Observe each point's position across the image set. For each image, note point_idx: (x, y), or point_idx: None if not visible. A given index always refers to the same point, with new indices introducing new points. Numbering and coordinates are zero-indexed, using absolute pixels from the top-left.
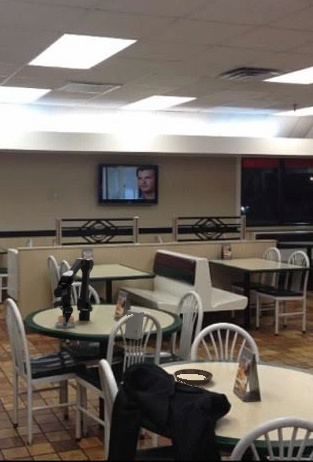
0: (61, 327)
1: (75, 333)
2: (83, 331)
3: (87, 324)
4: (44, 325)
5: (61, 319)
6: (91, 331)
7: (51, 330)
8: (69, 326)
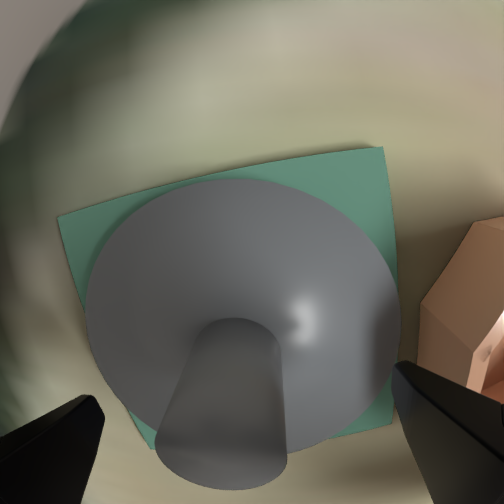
0: (90, 292)
1: (8, 394)
2: None
3: (387, 492)
4: (329, 6)
5: (488, 292)
6: (118, 497)
7: (19, 158)
8: (146, 402)
